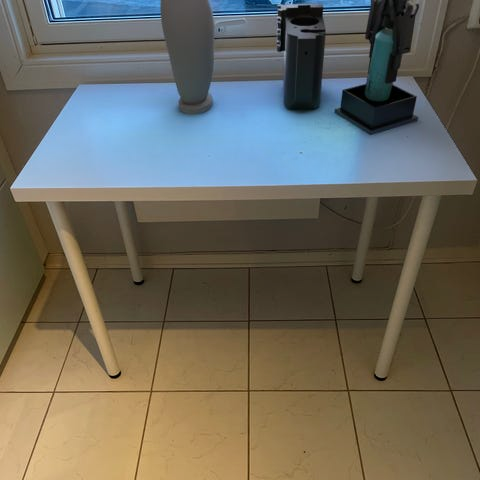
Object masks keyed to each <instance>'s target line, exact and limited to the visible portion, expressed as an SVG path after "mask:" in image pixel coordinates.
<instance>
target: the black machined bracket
mask: <svg viewBox="0 0 480 480" xmlns="http://www.w3.org/2000/svg"><path fill="white" fill-rule="evenodd" d="M276 26H277V28H276V52H277V53H282V52H283V79H282V80H283V81H282V82H283V83H282V85H283V86H282V94H283V105H284V107H285V108H286V109H288V110H315V109H317V108H319V106H321V98H322V97H321V95H322V88H323V87H322V83H323V74H324V73H323V71H324V59H325V47H326V37H327V36H326V35H327V32H326V29H327V28H326V24H325V20H324V4H322V3H293V4H291V3H290V4H281V3H280V4H277V19H276Z"/></svg>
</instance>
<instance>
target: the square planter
mask: <svg viewBox="0 0 480 480" xmlns="http://www.w3.org/2000/svg"><path fill="white" fill-rule="evenodd" d="M365 86H366V83H364V84H359V85H356V86H352V87H348V88H344V89H342V90H341V97H340V98H341V99H340V107H337V108H334V113H335V114H336V115H338V116H339V117H341V118H342V119H344V120H346V121H347V122H349V123H351V124H352V125H354V126H356V128H358V129H360V130H362V131H364V132H365V133H366V134H368V135H370V136H371V135H375V134H377V133H378V134H379V133H381V132H385V131H388V130H391V129H395V128H397V127H402V126H404V125H408V124H411V123H415V122H417V121H418V120H419V116H417V115H416V114H414V113H415V107H416V103H417V97H418V96H417V95H415V94H413V93H411V92H409V91H407V90H406V89H403V88H401V87H399V86H397V85H395V84H393V85H392V87H391V88H392V90H391V92H390V96H389V98H388V99H387V100H385V101H372V100H370V99H368V98H367V97H366V96H365V90H366V89H365V88H366V87H365Z"/></svg>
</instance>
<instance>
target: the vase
mask: <svg viewBox="0 0 480 480" xmlns="http://www.w3.org/2000/svg"><path fill="white" fill-rule="evenodd" d="M159 7H160V8H159V9H160V11H159V12H160V20H161V21H160V22H161V28H162V33H163V38H164V41H165V42H164V43H165V46H166V50H167V53H168V57H169V61H170V67H171V71H172V74H173V78H174V82H175V87H176V90H177V93H178V95H179V97H180V98H179V99H178V109H179V111H180V112H182V113H183V114H187V115H197V114H198V115H199V114H203V113H205V112H207V111H209V110H210V109H211V108H212V107H213V105H214V101H213V100H214V99H213V96H212V94H211V93H209V91H210V88H211V84H212V78H213V75H214V69H215V68H214V67H215V20H214V14H213V9H212V6H211V3H210V0H160V6H159Z"/></svg>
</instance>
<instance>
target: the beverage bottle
mask: <svg viewBox="0 0 480 480" xmlns="http://www.w3.org/2000/svg"><path fill="white" fill-rule="evenodd" d="M399 16H400V15H399ZM396 17H398V16H396ZM393 24H394V22H393V21H391V19H390V15H389V14H386V15H385V17H384V21H383V24H382V26H383V27H385V29H383V30H381V31H380V32H378V33H377V34H376V36H375V43H374V48H373V53H372V58H371V63H370V69H369V71H368V70H367V77H366V81H365V84H366V86H365V87H366V88H365V89H366V90H365V96H366V97H367V98H368V99H370V100H372V101H385V100H387V99H388V98H389V96H390V92H391V90H392V88H391V87H392V85H394V82H392V83H388V84H386V83H385V79H386V74H387V68H388V62H389V56H390V53H393V36H392V29H393ZM398 49H399V47H398ZM368 72H369V74H368Z"/></svg>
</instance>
